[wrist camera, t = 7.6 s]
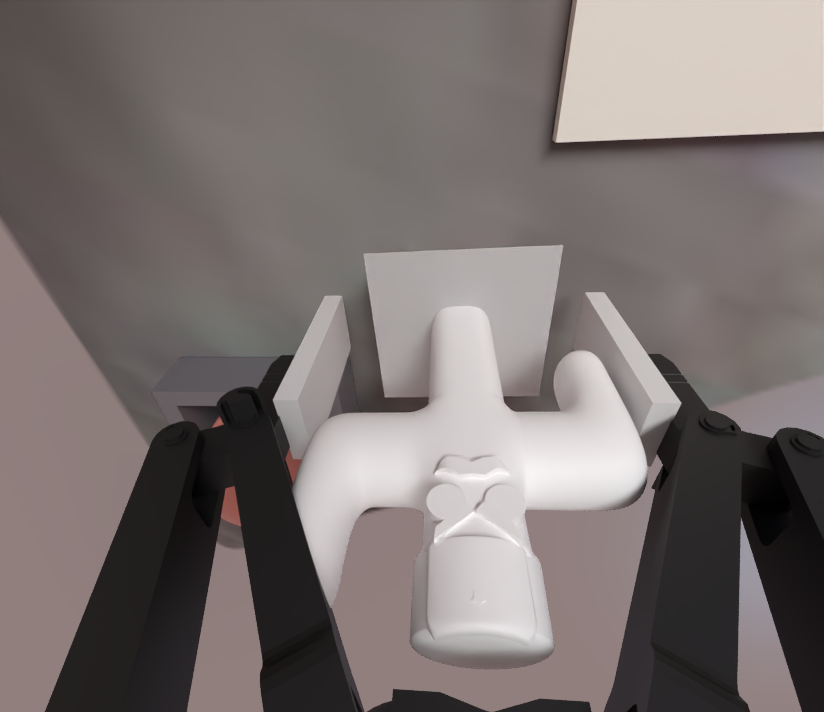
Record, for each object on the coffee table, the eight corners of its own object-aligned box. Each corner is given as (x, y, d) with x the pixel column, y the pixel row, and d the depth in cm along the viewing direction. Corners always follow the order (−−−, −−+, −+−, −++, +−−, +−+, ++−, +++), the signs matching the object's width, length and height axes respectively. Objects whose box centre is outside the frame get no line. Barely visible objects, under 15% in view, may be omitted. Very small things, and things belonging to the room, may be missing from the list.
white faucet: (546, 349, 21) (682, 725, 9) (372, 352, 22) (289, 700, 10) (568, 212, 17) (875, 578, 5) (352, 223, 18) (165, 558, 6)
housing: (180, 357, 23) (150, 391, 21) (349, 357, 22) (338, 392, 20) (234, 466, 29) (215, 502, 27) (369, 469, 28) (362, 507, 26)
